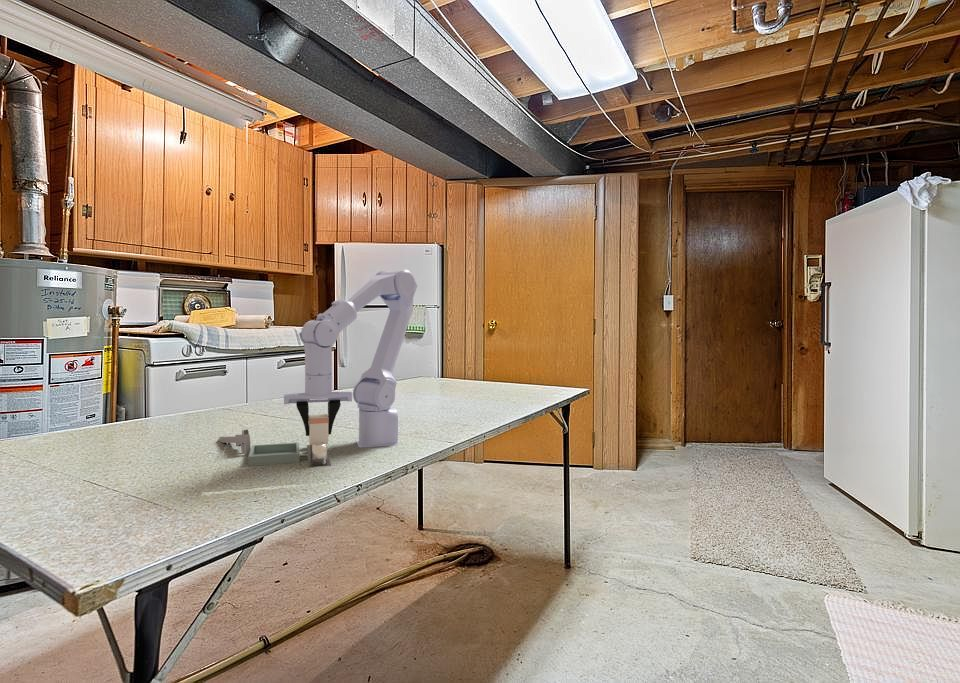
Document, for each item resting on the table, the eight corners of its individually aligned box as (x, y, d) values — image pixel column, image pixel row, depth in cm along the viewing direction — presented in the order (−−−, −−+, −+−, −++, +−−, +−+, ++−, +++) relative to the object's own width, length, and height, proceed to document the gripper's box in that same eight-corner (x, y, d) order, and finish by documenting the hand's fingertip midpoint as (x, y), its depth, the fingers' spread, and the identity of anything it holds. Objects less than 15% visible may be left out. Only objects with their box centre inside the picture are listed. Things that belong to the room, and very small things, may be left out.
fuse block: (325, 445, 126) (325, 427, 126) (331, 467, 108) (331, 446, 108) (306, 447, 124) (306, 428, 124) (308, 469, 107) (309, 447, 106)
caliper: (250, 458, 115) (250, 430, 115) (245, 459, 114) (245, 431, 114) (222, 440, 130) (222, 416, 130) (217, 441, 129) (217, 416, 129)
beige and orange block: (327, 439, 119) (327, 413, 119) (328, 443, 115) (328, 417, 115) (308, 440, 117) (308, 414, 117) (309, 445, 114) (309, 418, 113)
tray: (299, 452, 120) (299, 442, 119) (299, 464, 110) (299, 453, 110) (251, 455, 116) (251, 445, 116) (248, 467, 107) (248, 456, 107)
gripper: (349, 371, 122) (349, 428, 122) (283, 372, 117) (284, 432, 117) (353, 374, 115) (353, 435, 116) (283, 376, 110) (283, 439, 111)
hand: (318, 434), depth 116 cm, fingers closed on beige and orange block, 4 cm apart
